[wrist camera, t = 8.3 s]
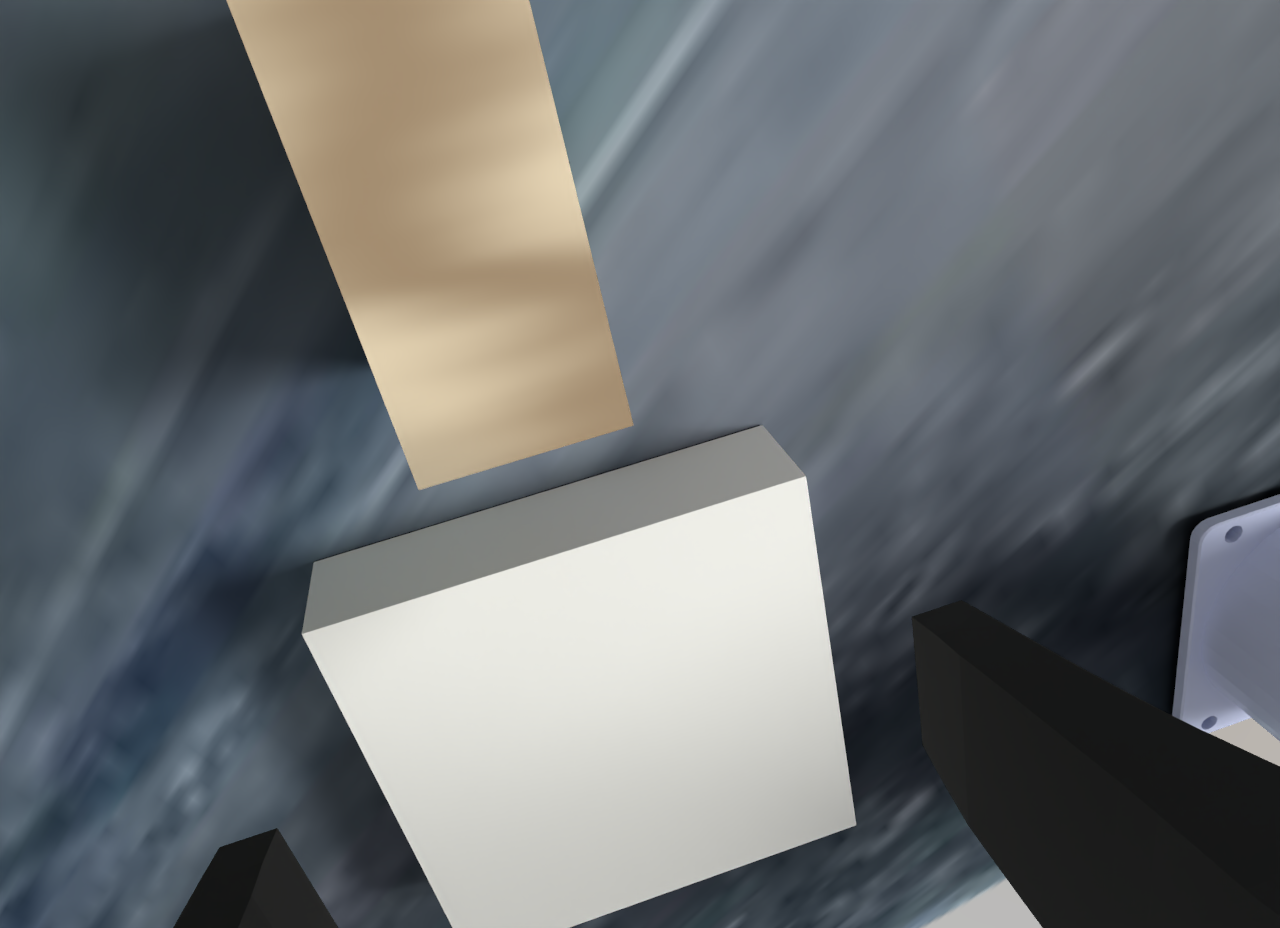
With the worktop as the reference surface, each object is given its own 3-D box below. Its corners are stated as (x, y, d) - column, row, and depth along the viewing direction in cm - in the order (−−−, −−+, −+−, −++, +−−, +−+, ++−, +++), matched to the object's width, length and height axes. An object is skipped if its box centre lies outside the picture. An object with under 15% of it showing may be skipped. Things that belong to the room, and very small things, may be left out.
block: (572, 314, 18) (476, -49, 15) (633, 424, 13) (510, -76, 10) (415, 359, 18) (284, -2, 15) (418, 490, 13) (223, -7, 10)
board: (762, 424, 20) (805, 476, 18) (817, 753, 25) (856, 825, 23) (313, 562, 19) (301, 634, 17) (464, 876, 24) (470, 962, 22)
